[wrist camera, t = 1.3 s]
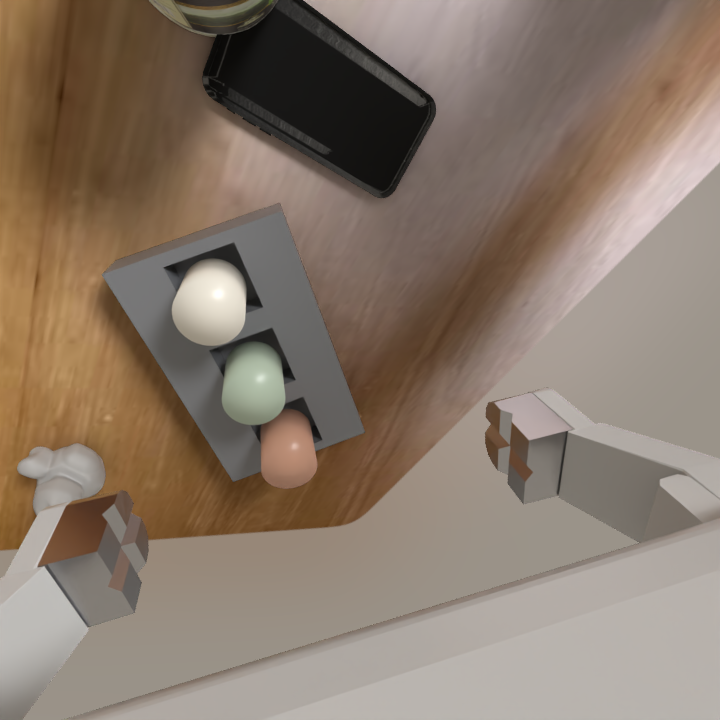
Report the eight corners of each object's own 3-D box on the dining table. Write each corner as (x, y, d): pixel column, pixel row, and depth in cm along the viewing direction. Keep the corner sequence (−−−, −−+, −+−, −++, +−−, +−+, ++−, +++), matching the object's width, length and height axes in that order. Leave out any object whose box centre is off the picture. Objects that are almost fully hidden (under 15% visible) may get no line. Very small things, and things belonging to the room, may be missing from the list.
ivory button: (231, 249, 31) (227, 270, 27) (256, 304, 33) (256, 331, 29) (171, 270, 31) (157, 295, 27) (200, 324, 33) (192, 355, 29)
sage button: (269, 333, 35) (271, 364, 30) (289, 378, 37) (294, 412, 33) (216, 352, 34) (210, 386, 30) (239, 396, 37) (237, 433, 32)
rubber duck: (91, 489, 42) (59, 561, 35) (19, 456, 39) (-31, 529, 32) (125, 453, 41) (99, 520, 34) (54, 417, 38) (9, 482, 31)
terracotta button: (300, 401, 38) (306, 437, 34) (317, 438, 40) (324, 476, 36) (252, 419, 38) (252, 458, 34) (271, 455, 40) (273, 495, 36)
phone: (245, -44, 26) (442, 104, 32) (245, -38, 27) (436, 104, 33) (196, 91, 29) (386, 205, 34) (198, 92, 30) (383, 202, 35)
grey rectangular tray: (279, 202, 34) (282, 210, 30) (357, 411, 44) (365, 432, 41) (115, 260, 33) (101, 274, 30) (234, 457, 44) (233, 481, 41)
